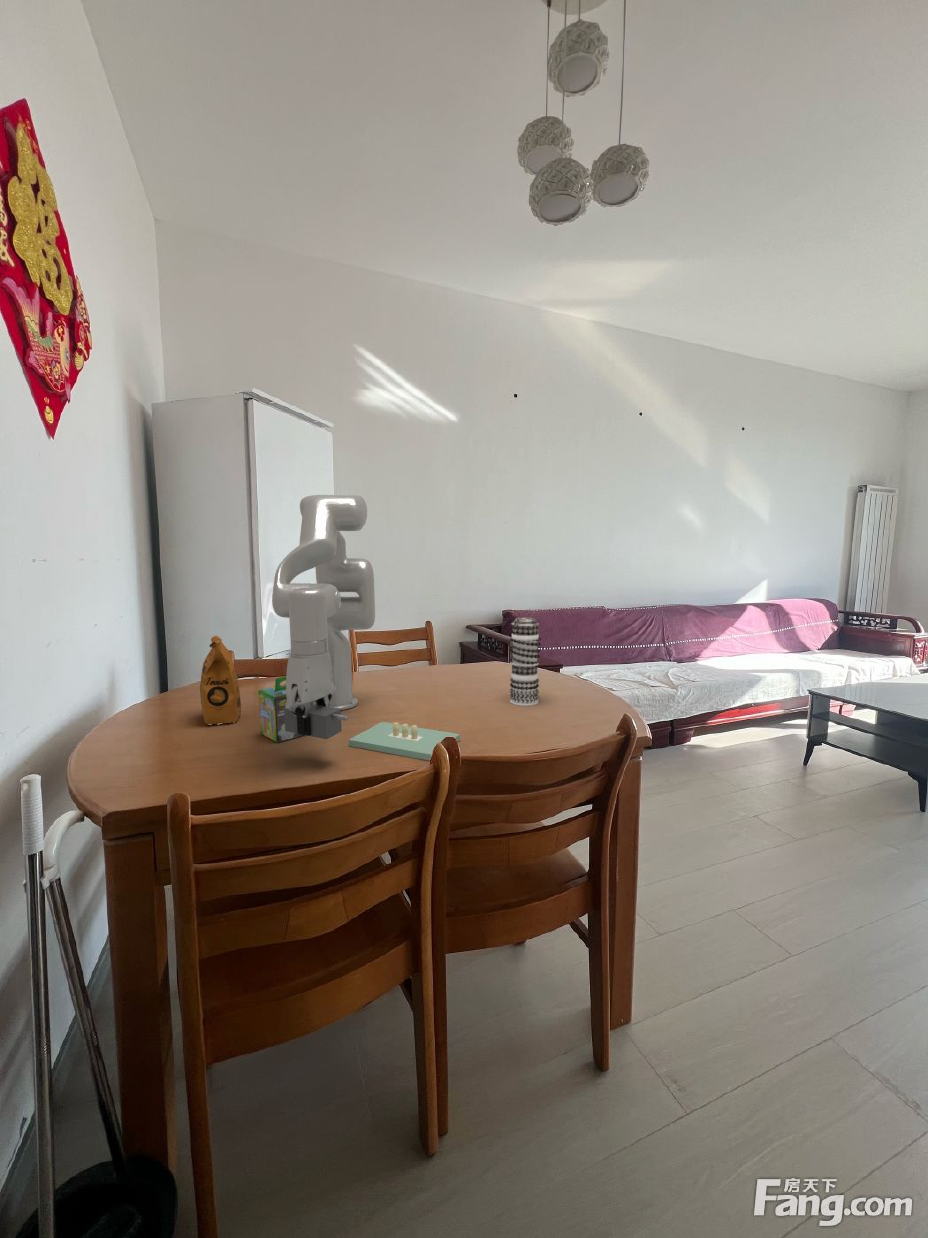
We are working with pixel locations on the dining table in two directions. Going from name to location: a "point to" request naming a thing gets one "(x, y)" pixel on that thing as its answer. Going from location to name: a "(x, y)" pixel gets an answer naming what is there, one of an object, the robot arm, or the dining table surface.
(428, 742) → the header board
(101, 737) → the dining table surface
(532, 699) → the decorative candle
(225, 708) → the coffee package
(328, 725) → the plug housing
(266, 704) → the chalk box
